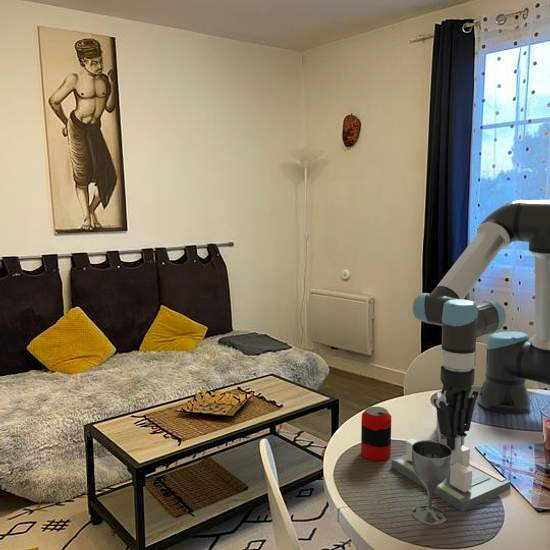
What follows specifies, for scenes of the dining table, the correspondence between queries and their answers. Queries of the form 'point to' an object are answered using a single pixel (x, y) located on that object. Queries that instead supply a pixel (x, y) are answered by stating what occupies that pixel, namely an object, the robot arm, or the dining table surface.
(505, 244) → the robot arm
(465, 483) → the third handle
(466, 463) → the white square block
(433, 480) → the wine glass
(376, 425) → the soda can
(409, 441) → the handle
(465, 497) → the board
